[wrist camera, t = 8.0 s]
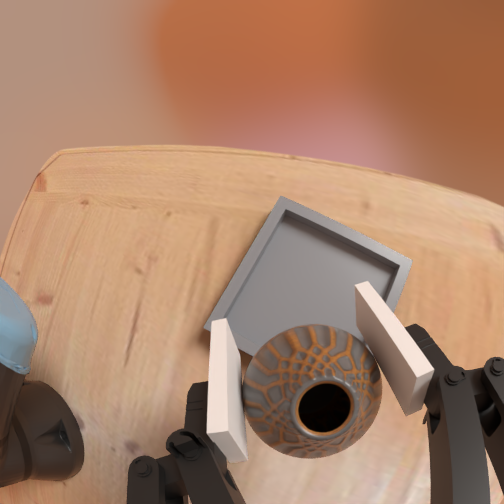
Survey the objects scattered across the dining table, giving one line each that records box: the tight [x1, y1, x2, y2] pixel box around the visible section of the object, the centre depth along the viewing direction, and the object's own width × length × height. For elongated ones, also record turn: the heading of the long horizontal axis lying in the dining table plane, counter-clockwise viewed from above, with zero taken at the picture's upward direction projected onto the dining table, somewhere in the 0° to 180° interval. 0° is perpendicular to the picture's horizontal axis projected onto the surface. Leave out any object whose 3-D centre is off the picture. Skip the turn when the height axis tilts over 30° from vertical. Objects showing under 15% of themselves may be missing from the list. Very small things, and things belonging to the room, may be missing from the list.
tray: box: [203, 196, 413, 357], centre depth 29 cm, size 16×16×2 cm
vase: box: [242, 324, 382, 458], centre depth 12 cm, size 7×7×9 cm
